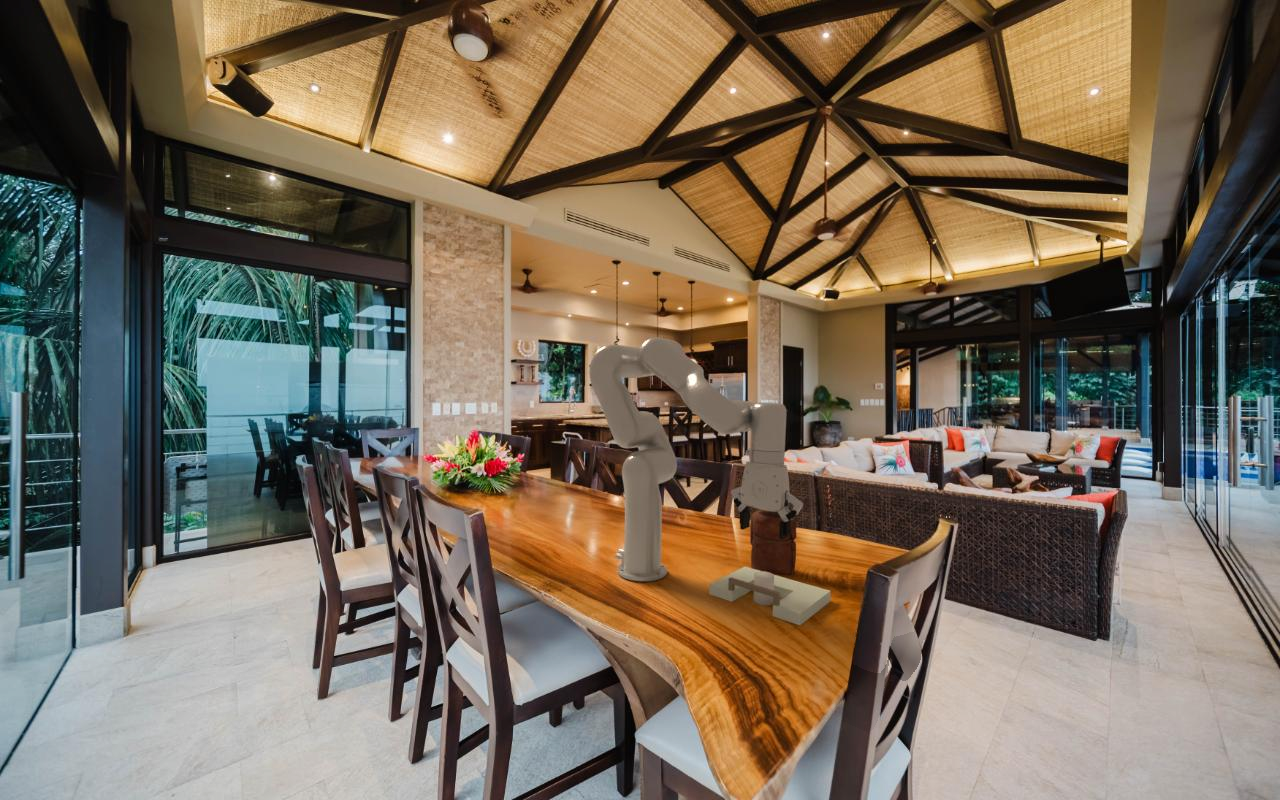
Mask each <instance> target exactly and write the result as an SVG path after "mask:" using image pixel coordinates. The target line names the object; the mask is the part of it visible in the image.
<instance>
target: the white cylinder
mask: <svg viewBox="0 0 1280 800" xmlns="http://www.w3.org/2000/svg"><path fill="white" fill-rule="evenodd" d="M774 575H775V574H773V572H764V571H759V572H755V573H754V585H757V586H761V587H764V588H767V589H770V590H774ZM753 602H754V603H755V604H757V605H760V606H773V597H771V596H768V595H765V594H762V593H759V592H755V591H753Z"/></svg>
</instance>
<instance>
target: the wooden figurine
mask: <svg viewBox="0 0 1280 800" xmlns="http://www.w3.org/2000/svg"><path fill="white" fill-rule="evenodd" d="M788 509H789V511H791V509H790V508H789V507H788ZM780 521H782V518H781V517H780V515H779V514H778V512H772V511H767V510H762V509H758V510H756V511H754V512H752V513H751V514H750V526H749V528H750V529H749V531H750V535H749V536H750V537H749V538H750V545H751V552H750V566H751V567H750V568H752V569H756V570H759V571H764V572H769V573H772V574H773V573H774V574H784V575H794V574H795V569H796V561H797V543H796V541H795V540H796V539H797V521H796V519H795V517H794V518H793V519H792V520H791V522H790V534H789V535H788V537H787V538H785V539H783V540H782V539H780V538H779V529H780Z"/></svg>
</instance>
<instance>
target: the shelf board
mask: <svg viewBox="0 0 1280 800" xmlns="http://www.w3.org/2000/svg"><path fill="white" fill-rule="evenodd" d="M755 572H759V570H756V569H753V568H751V567H748V566H742V567H741V568H739V569H737V570H735V571H732V572H731V573H729V574H727V575H724V576H723V577H721V578H719V579H717V580H715V581H713V582H711V583H709V594H708V595H710V596H714V597H717V598H719V599H723V600H725V601H729V602H730V603H732V602H734V601H736V600H737V599H739V598H741V597H743V596H745V595H746V594H748V593H750V592H752V591H753V592H754V591H755V592H759V593H762V594H765V595H768V596H771V597H773V604H772V617H775V618H777V619H780V620H783V621H786V622H788V623H792V624H794V625H797V626H801V625H803V624H804V623H805V622H806V621H808V620H809V619H810V618H811V617H813V615H815V614H817V612H819V611H820V610H822V609H823V608H824V607H825V606H826V605H828V604H829V603H830V602H831V593H832V592H831V590H829V589H825V588H821V587H819V586H815V585H811V584H809V583H804V582H800V581H797V580H793V579H790V578H787V577H783V576H780V575H777V574H776V575H775V574H773V575H774V590H770V589H767V588H764V587H761V586H757V585H754V573H755Z"/></svg>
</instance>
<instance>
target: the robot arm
mask: <svg viewBox="0 0 1280 800" xmlns="http://www.w3.org/2000/svg"><path fill="white" fill-rule="evenodd" d="M685 351H686V350H685V349H684V348H683V346H682V345H681V344H680V343H679V342H677V341H676V340H672V339H668V338H665V337H664V338H663V337H650V338H647V340H645V341H644V342H643V343H642V344H641V346H637V347H634V346H628V345H622V344H607V345H604V346H602V347H600V348H598V350H597V351H596V352H595V353H594V355H592V359H591V360H590V364H589V371H588V373H589V374H588V375H589V381H590V383H591V387H592V389H593V391H594V394H595V396H596V397H597V400H598V402H599V404H600V407H601V409H602V412H603V415H604V417H605V420H606V423H607V425H608V428H609V430H610V433H611V435H612V437H613V440H614V441H615V443H616V445H617V446H618V447H621V448H623V449H634V448H638V450H637V451H635V452H632V453H631V454H630V455H628V456H627V458H625V460H624V462H623V463H622V468H621V477H622V483H623V490H624V547H623V548H624V549H623V548H619V549H618V550H617V551H618V552H616V553H615V556H614V557H615V559H618V560H620V563H621V564H619V566H618V568H617V572H618V575H619V576H620V577H621V578H623V579H626V580H629V581H634V582H654V581H659V580H661V579H663V578H665V577H666V576H667V573H668V569H667V566H666V565H665V564H663V563H662V526H663V525H662V522H663V512H662V511H663V505H662V503H663V501H662V496H661V492H660V487H659V486H660V485H659V484H663V483H666V482H668V481H670V480H671V479H672V478H673V477H674V476H675V474H676V472H677V470H678V469H677V467H678V462H677V458H676V455H675V452H674V450H673V447H672V445H671V442H670V441H669V439H668V436H667V433H666V431H665V428H664V427H663V425H662V422H661V420H659V418H658V417H657V416H656V415H655V414H653V413H651V412H650V411H643V410H641V411H639V409H638V408H637V406H636V404H635V401H634V399H633V396H632V394H631V392H630V390H629V389H628V388H627V387H626V385H625V384H624V383H623V381H622V379H621V378H625V379H636V378H637V379H638V378H645V377H651V376H656V377H657V378H658V379H660V380H661V381H662V382H664V383H665V384H666V385H667V386H669V388H670V389H672V390H673V391H675V392H676V393H677V394H678V395H679V396H680V398H681V399H682V401H683V402H684V404H685V405H686V406H687V408H688V409H689V410H690V411H691V412H692V414H694V415H695V416H697V418H699V419H700V420H701V421H703V422H704V423H705V424H707V426H709V427H710V428H712V429H713V430H714V431H716V432H718V433H719V434H720V433H721V434H723V435H732V434H737V433H744V432H750V444H749V445H750V446H749V449H746V450H745V456H747V457H748V461H746V462H745V465H744V470H743V473H742V474H743V475H742V479H741V486H738V487H736V488H734V489H731V490H730V494H731V496H732V499H733V503H734V505H735V506H736V507H737V511H738V512H739V529H740V530H745V529H748V528H750V523H751V510H750V509H749V508H754V509H758V510H759V509H762V510H767V511H772V512H778V514H779V515H780V517H781V518H782V521H780V529H779V538H780V539H782V540H783V539H785V538H787V537H788V535H789V534H790V522H791V520H792V519H793V518H794V519H795V517H796V516H798V515H799V513H800V511H802V510H801V509H802V508H803V507H804V502H803V501H801V500H799V499H798V498H797V497H796V496H795V495H794V494H791V493H790V478H789V473H788V466H787V465H786V464H785V454H786V453H785V451H786V450H785V449H786V432H787V431H786V429H787V409H786V406H785V404H782V403H777V402H753V401H747V400H742V399H729V398H727V397H726V396H724V395H723V394H722V393H721V392H719V391H718V390H717V389H716V388H714V387H713V385H711V384H710V383H709V382H708V381H707V380H706V378H705V376H704V372H705V371H704V369H703V367H702V366H701V365H699V364H698V363H697V362H696V361H694V360H693V359H691V358H690V357H689V356H688V355H686V352H685ZM790 504H792V506H793V508H792V509H791V510H790V511H789V509H790V508H789V505H790ZM788 508H789V509H788Z"/></svg>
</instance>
